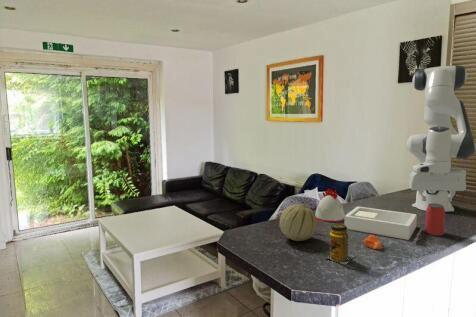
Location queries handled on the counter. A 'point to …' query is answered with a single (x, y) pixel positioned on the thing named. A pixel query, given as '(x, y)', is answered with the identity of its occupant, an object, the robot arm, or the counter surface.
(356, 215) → the cream rectangular box
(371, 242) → the rock
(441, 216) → the beer can
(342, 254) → the condiment
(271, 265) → the counter surface
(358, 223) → the tray
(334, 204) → the kitchen timer
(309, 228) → the cantaloupe
